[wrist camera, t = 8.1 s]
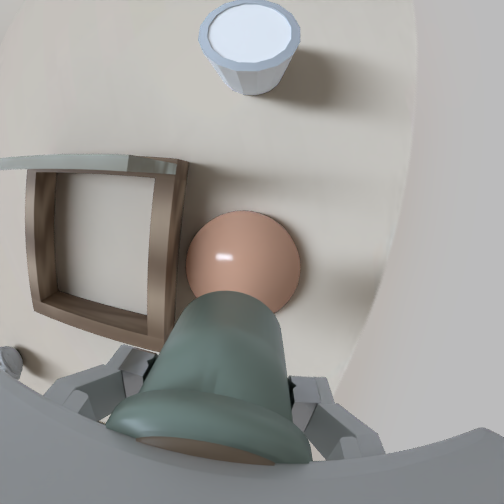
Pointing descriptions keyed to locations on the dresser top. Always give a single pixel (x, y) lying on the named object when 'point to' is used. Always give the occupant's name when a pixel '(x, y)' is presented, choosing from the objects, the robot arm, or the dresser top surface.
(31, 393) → the robot arm
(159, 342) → the frame
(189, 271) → the pink round part
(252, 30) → the shot glass
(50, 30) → the dresser top surface
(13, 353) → the grey rock chunk
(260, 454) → the plant pot
